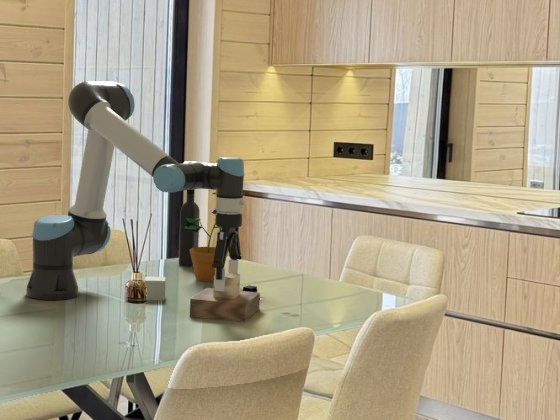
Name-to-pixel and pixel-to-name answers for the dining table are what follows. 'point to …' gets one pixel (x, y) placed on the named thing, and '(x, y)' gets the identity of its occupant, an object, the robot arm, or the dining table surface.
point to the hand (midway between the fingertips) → (226, 286)
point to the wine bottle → (188, 237)
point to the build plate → (250, 288)
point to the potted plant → (202, 253)
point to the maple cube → (229, 286)
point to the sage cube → (155, 288)
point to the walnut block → (224, 306)
